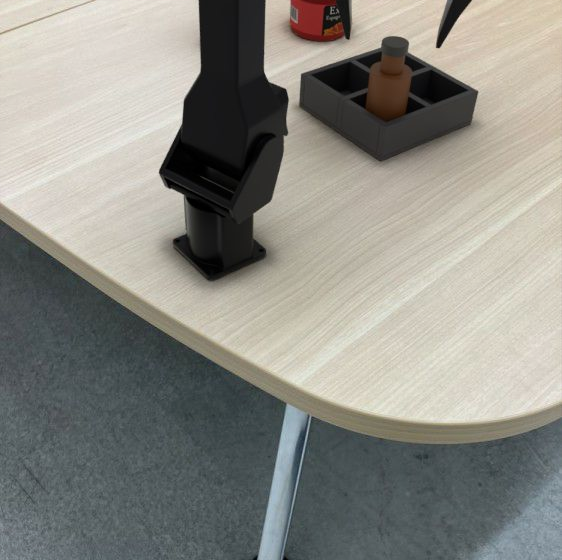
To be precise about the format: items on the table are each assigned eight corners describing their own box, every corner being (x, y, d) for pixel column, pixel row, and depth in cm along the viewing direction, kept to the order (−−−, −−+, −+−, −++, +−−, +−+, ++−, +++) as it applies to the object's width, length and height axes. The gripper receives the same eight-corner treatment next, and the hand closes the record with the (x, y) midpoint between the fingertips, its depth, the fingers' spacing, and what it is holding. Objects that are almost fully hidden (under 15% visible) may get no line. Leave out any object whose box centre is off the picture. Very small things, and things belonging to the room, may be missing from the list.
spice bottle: (410, 133, 87) (426, 44, 80) (381, 145, 85) (394, 55, 78) (383, 116, 90) (396, 28, 82) (354, 127, 88) (365, 38, 80)
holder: (471, 123, 91) (478, 91, 88) (380, 161, 85) (385, 127, 82) (387, 75, 98) (392, 43, 95) (298, 106, 92) (300, 73, 89)
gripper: (518, -150, 74) (481, 18, 85) (321, -166, 75) (310, 2, 87) (528, -114, 66) (485, 65, 78) (308, -133, 68) (298, 46, 79)
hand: (392, 42), depth 80 cm, fingers open, 9 cm apart
